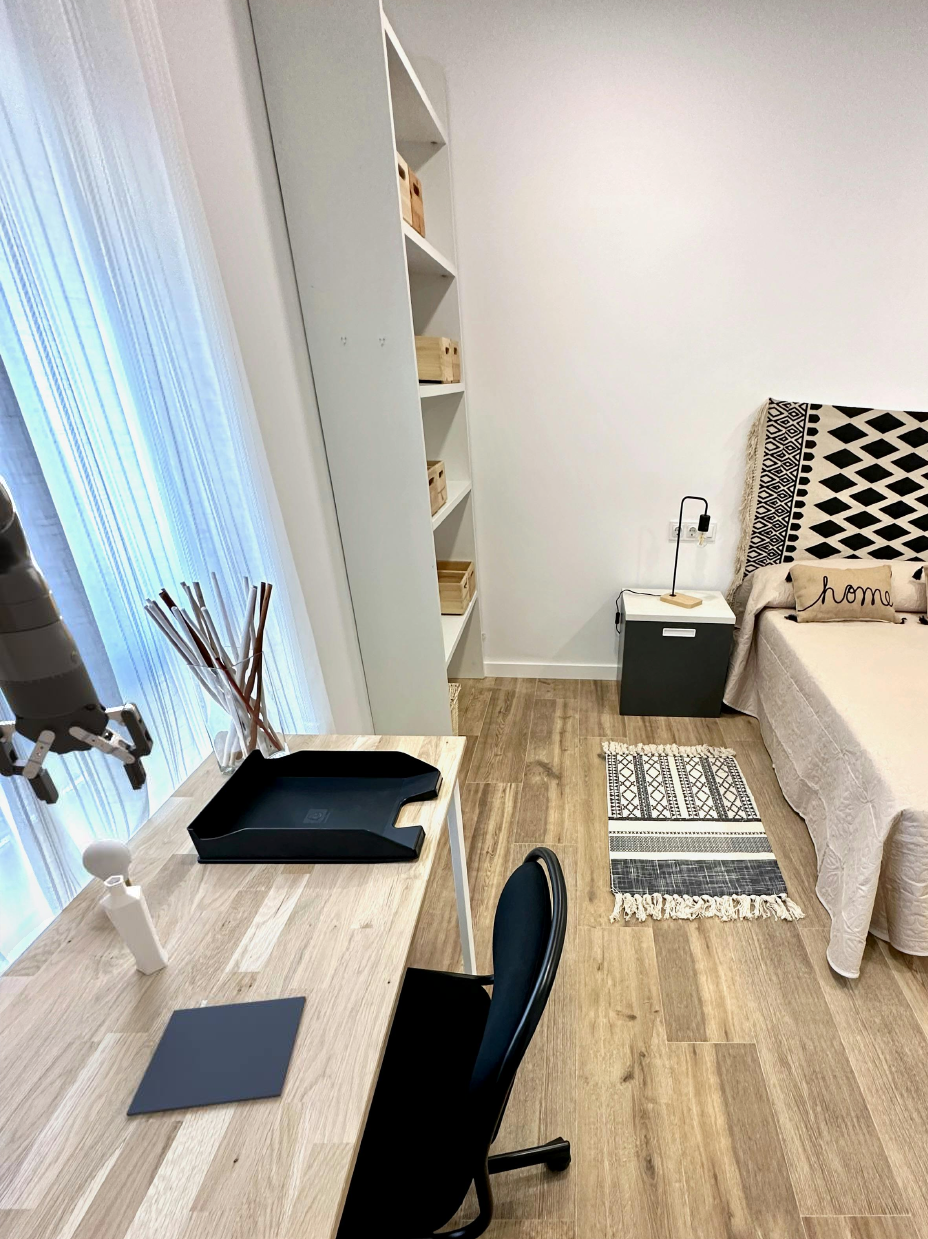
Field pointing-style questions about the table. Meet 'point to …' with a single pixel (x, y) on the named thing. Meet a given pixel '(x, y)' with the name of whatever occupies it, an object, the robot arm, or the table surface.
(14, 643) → the robot arm
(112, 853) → the light bulb
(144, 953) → the perfume bottle
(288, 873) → the table surface
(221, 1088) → the cloth
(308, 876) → the table surface
